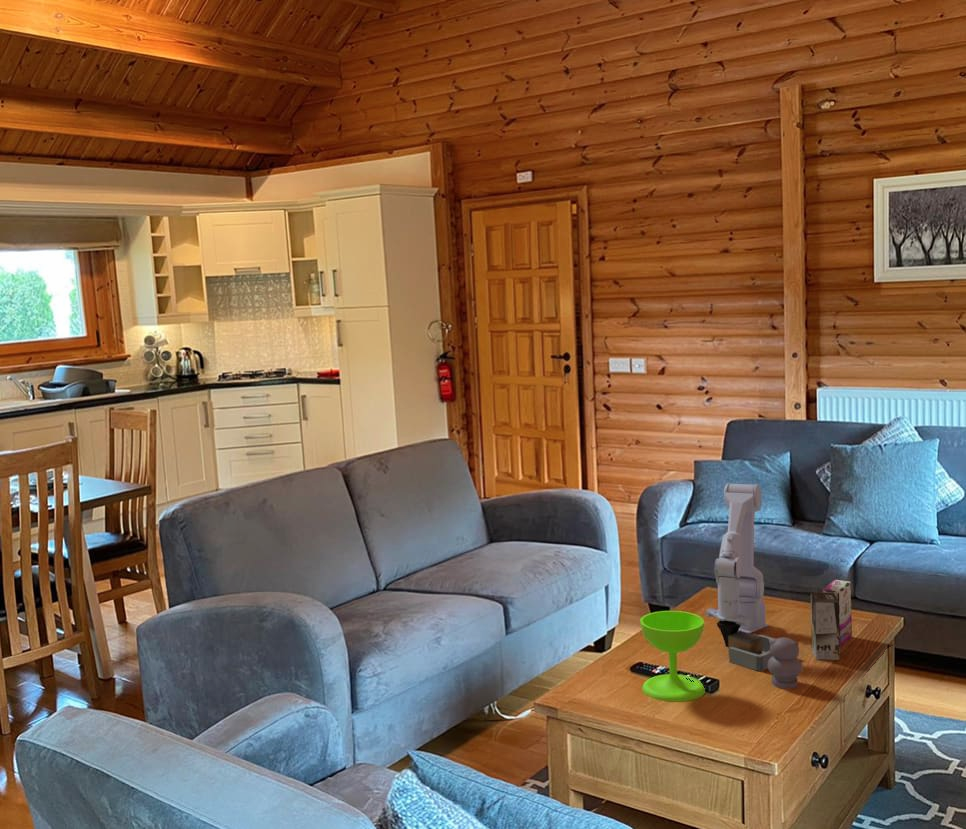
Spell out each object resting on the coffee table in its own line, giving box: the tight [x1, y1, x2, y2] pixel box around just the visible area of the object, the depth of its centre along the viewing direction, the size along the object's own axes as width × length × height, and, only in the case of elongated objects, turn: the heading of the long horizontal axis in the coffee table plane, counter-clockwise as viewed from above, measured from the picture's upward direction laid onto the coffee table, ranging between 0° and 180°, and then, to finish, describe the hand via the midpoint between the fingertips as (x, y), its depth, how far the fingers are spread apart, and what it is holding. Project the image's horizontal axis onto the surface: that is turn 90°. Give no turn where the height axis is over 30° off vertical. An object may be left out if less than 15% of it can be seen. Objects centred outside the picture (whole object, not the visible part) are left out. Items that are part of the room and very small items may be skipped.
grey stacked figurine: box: [767, 637, 803, 690], centre depth 247 cm, size 8×8×12 cm
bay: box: [728, 634, 776, 672], centre depth 264 cm, size 14×10×4 cm
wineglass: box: [639, 610, 706, 703], centre depth 247 cm, size 16×16×18 cm
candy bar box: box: [821, 579, 853, 649], centre depth 274 cm, size 11×5×16 cm, turn 143°
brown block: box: [728, 631, 763, 655], centre depth 268 cm, size 6×7×5 cm
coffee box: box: [810, 592, 840, 661], centre depth 265 cm, size 9×6×16 cm
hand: (729, 646), depth 272 cm, fingers closed
